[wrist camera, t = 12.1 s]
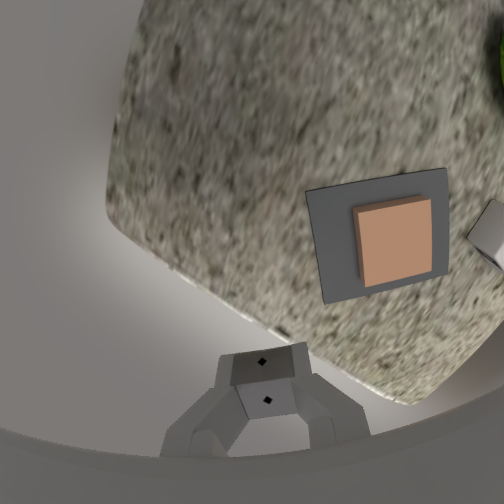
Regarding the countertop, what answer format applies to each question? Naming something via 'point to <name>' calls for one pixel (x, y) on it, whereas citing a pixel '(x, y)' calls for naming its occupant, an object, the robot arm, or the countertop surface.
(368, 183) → the mat
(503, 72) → the lettuce
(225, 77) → the countertop surface
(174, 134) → the countertop surface
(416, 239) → the block
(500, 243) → the container
